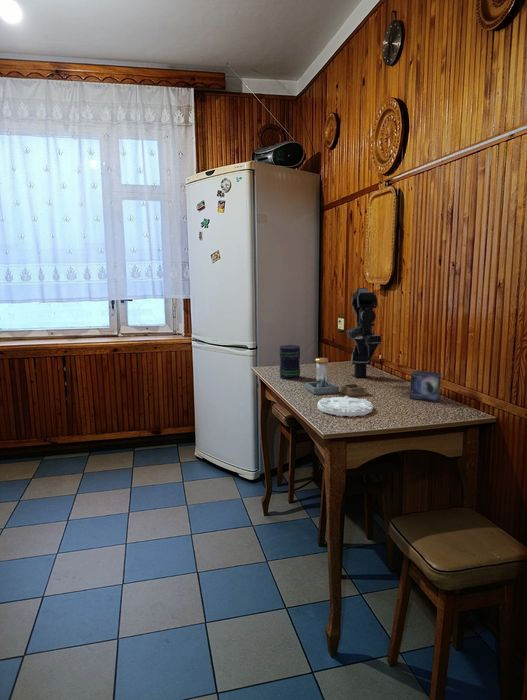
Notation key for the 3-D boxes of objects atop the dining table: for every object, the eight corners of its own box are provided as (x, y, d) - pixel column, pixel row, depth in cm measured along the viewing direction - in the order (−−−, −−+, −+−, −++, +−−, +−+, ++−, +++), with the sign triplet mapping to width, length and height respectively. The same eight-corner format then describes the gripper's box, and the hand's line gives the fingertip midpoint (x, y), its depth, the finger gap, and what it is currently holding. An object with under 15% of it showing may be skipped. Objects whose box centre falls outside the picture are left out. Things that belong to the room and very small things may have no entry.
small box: (409, 399, 184) (410, 373, 183) (412, 395, 190) (413, 370, 188) (437, 402, 179) (439, 375, 178) (439, 398, 185) (441, 372, 183)
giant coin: (379, 407, 175) (379, 399, 175) (362, 421, 158) (362, 413, 158) (329, 400, 185) (329, 393, 185) (308, 412, 168) (308, 404, 168)
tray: (304, 388, 203) (304, 382, 202) (328, 386, 206) (328, 381, 205) (313, 394, 192) (313, 388, 192) (338, 392, 195) (338, 386, 195)
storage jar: (300, 379, 219) (300, 348, 217) (279, 379, 220) (279, 348, 217) (299, 375, 229) (299, 345, 227) (279, 375, 229) (279, 345, 227)
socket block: (340, 391, 197) (340, 384, 196) (357, 390, 199) (358, 383, 198) (348, 396, 189) (348, 389, 189) (366, 394, 191) (366, 387, 191)
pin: (315, 387, 202) (315, 357, 200) (327, 387, 201) (328, 357, 199) (314, 390, 197) (314, 360, 195) (327, 390, 196) (328, 360, 194)
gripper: (339, 319, 211) (339, 353, 213) (358, 323, 193) (357, 360, 195) (362, 318, 213) (361, 352, 216) (382, 322, 196) (381, 359, 198)
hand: (364, 356), depth 206 cm, fingers open, 9 cm apart
